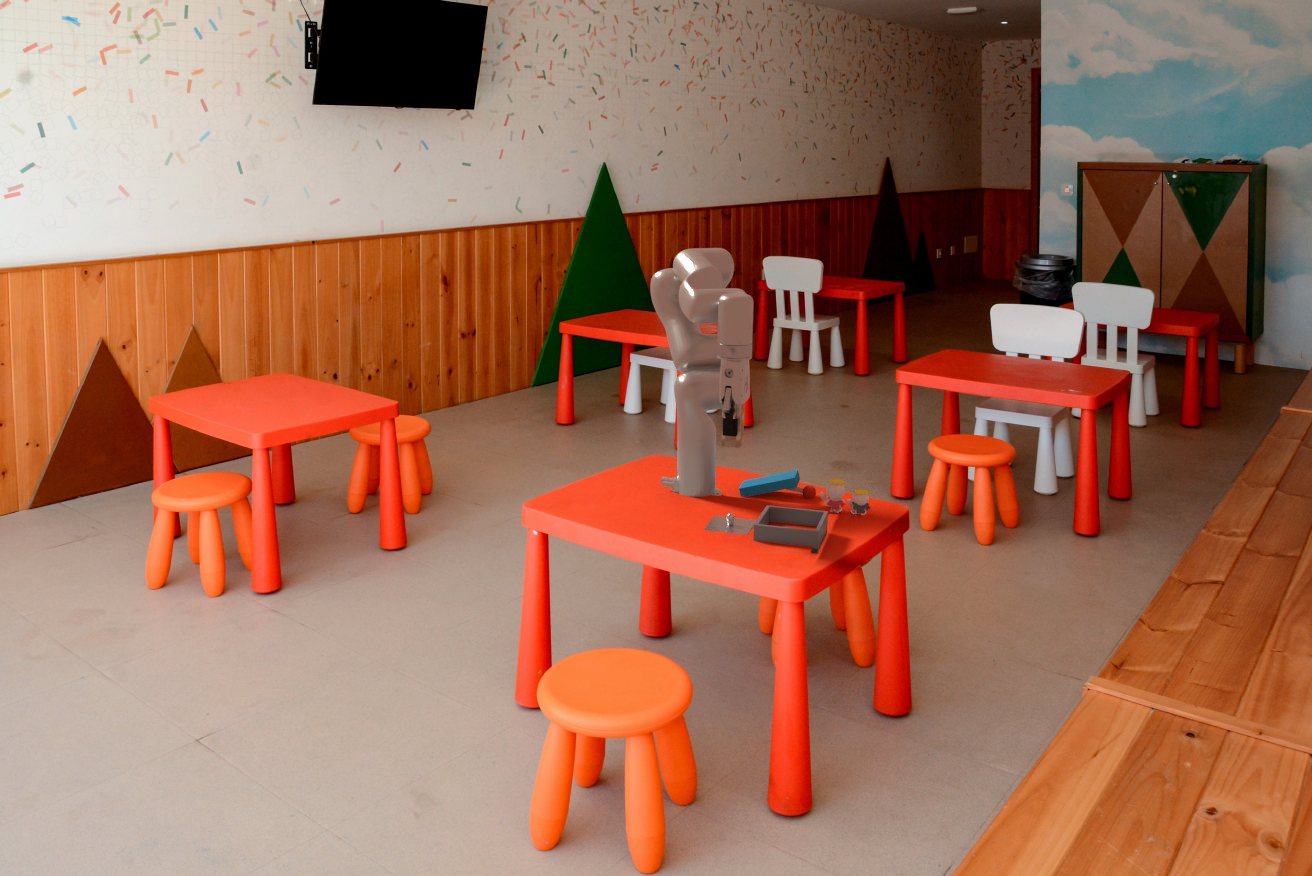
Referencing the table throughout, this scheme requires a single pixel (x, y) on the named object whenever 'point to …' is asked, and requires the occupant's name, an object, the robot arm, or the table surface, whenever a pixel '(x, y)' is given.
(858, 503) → the toy figures
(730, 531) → the square lid with knob
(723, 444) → the strut
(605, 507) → the table surface
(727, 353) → the robot arm
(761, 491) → the lever
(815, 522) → the bin
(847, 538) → the table surface
